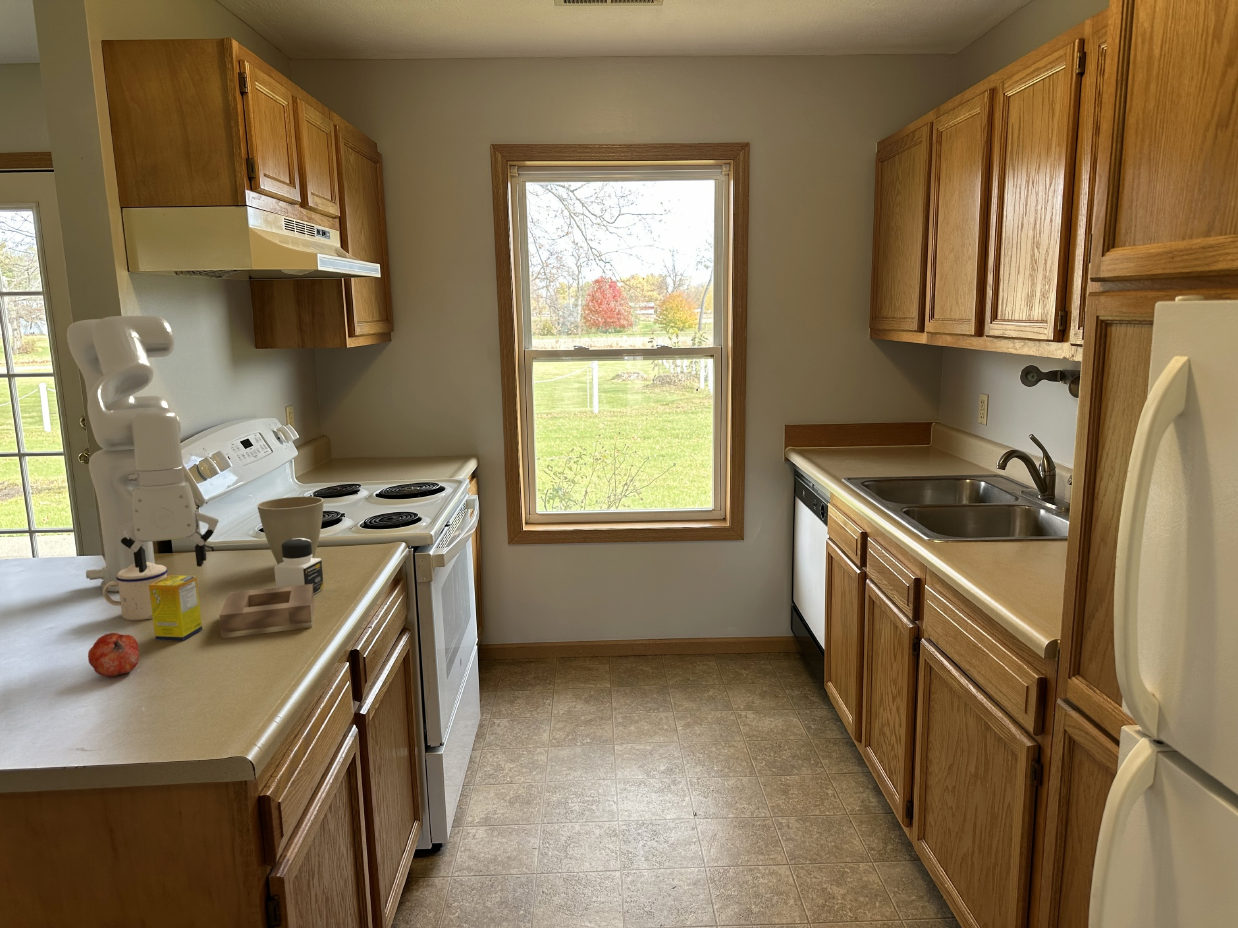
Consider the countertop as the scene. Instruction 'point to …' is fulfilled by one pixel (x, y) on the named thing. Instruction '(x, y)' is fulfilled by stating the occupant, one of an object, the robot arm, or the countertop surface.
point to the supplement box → (175, 607)
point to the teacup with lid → (136, 590)
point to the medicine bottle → (299, 566)
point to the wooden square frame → (267, 611)
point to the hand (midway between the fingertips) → (172, 567)
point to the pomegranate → (114, 654)
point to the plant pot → (291, 521)
